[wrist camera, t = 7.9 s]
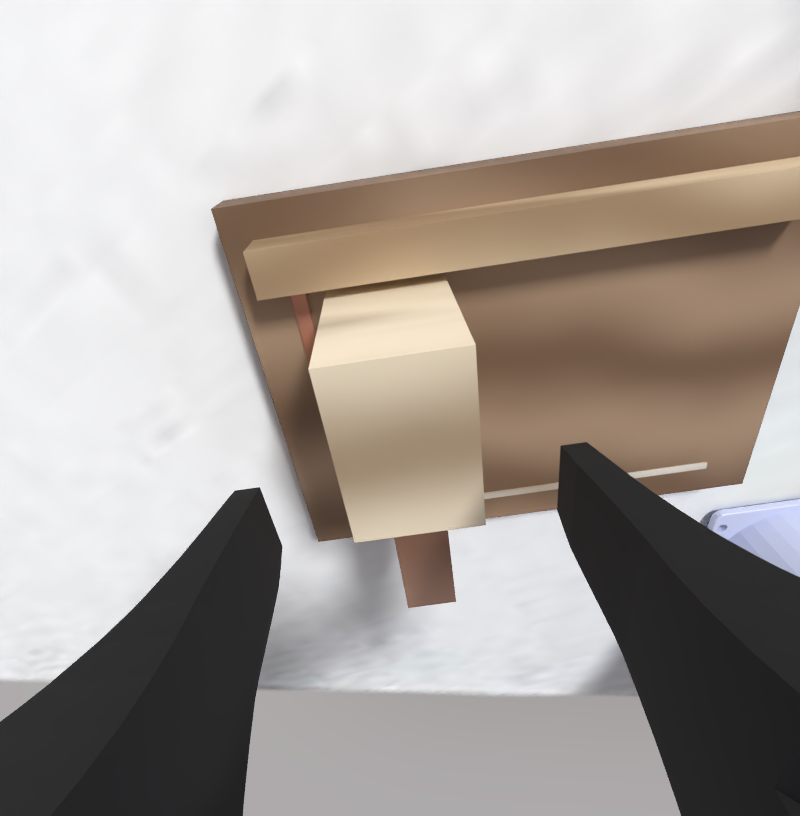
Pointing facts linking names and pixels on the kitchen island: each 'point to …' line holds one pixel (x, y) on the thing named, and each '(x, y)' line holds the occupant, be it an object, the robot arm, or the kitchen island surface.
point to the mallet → (403, 421)
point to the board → (555, 299)
